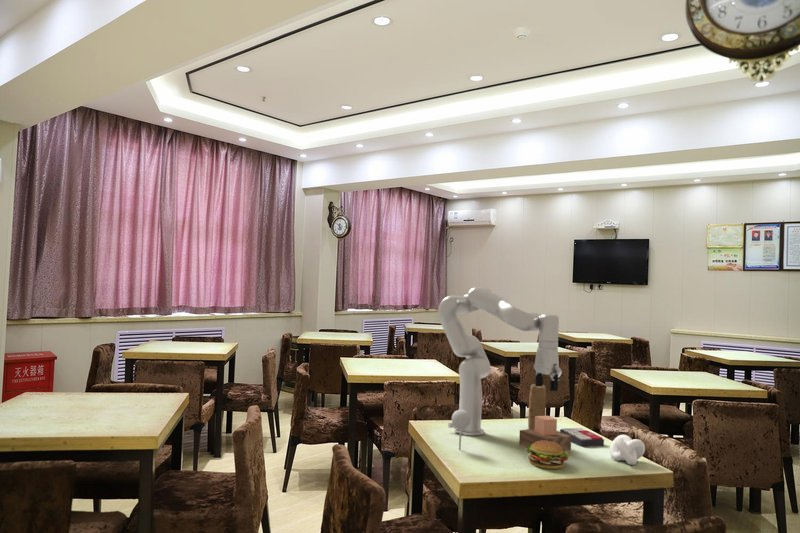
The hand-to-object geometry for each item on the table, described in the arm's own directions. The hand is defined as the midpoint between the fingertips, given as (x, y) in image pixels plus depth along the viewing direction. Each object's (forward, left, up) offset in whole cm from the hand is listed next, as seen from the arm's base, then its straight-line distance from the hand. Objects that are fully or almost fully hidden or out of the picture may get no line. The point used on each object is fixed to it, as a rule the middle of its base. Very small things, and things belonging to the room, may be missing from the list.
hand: (546, 388), depth 206 cm
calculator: (+22, +5, -24) cm, 33 cm away
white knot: (+20, -21, -23) cm, 37 cm away
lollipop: (-36, +3, -23) cm, 43 cm away
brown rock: (+14, +26, -23) cm, 38 cm away
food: (-12, -19, -23) cm, 32 cm away
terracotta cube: (0, 0, -18) cm, 18 cm away
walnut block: (0, 0, -24) cm, 24 cm away
